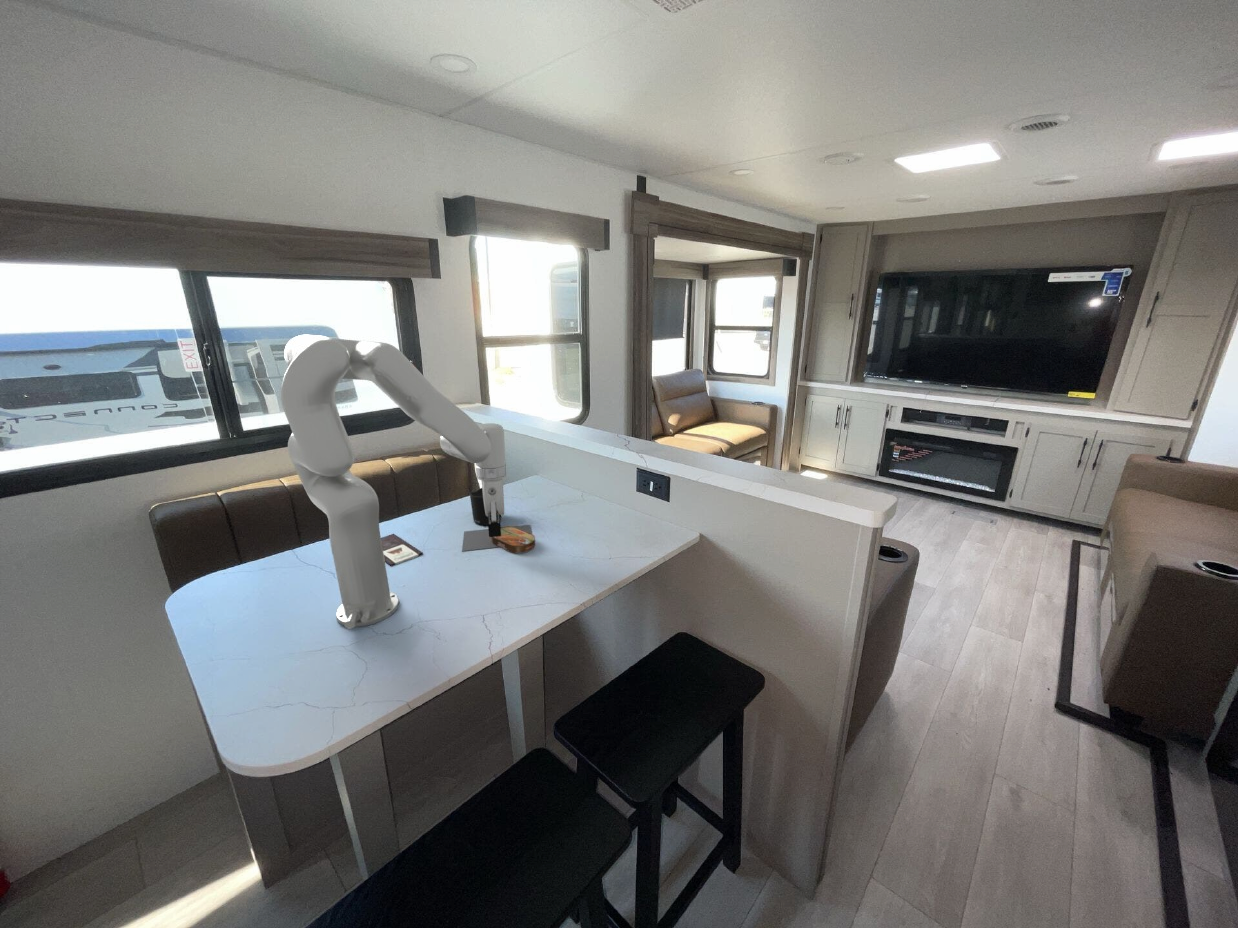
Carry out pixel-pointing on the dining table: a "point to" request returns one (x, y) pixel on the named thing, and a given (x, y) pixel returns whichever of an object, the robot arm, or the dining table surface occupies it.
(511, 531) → the tin
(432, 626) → the dining table surface
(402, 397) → the robot arm
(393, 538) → the chocolate bar
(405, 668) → the dining table surface
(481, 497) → the pen holder
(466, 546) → the mat
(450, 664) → the dining table surface
